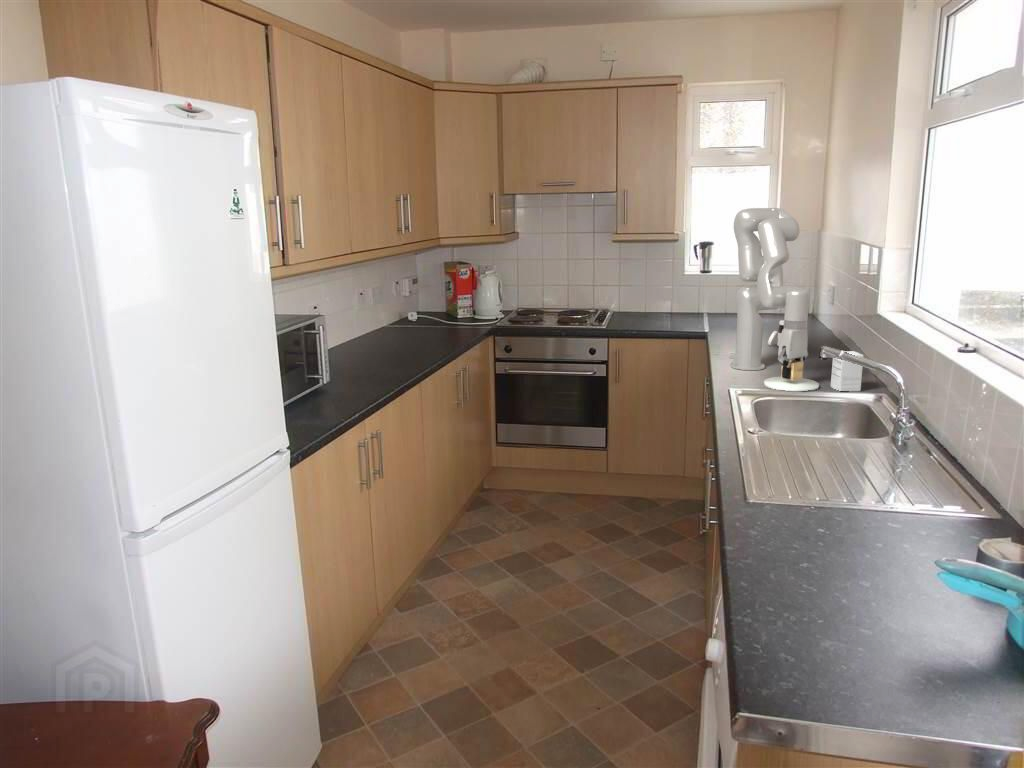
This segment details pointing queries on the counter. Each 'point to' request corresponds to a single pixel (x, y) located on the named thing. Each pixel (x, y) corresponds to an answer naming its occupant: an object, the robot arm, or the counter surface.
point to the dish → (791, 384)
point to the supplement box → (846, 374)
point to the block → (795, 370)
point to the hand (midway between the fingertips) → (791, 376)
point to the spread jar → (776, 334)
